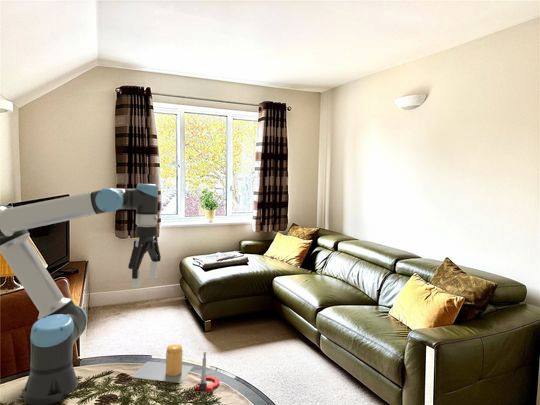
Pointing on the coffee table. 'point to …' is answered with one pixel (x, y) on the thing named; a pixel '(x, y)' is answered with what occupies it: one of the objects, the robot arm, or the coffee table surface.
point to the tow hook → (203, 384)
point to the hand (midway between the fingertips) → (145, 282)
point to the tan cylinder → (174, 360)
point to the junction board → (160, 372)
